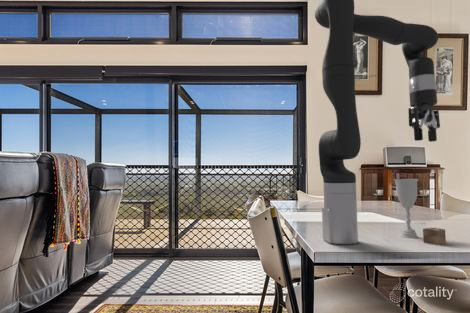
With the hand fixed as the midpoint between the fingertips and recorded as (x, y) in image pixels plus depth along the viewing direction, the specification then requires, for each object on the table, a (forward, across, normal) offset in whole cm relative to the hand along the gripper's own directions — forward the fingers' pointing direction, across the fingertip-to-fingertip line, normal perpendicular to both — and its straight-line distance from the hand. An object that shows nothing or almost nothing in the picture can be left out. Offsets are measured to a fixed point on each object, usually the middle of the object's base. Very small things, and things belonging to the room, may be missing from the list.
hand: (425, 140), depth 99 cm
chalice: (+30, -7, +4) cm, 31 cm away
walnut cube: (+30, -10, -6) cm, 32 cm away
